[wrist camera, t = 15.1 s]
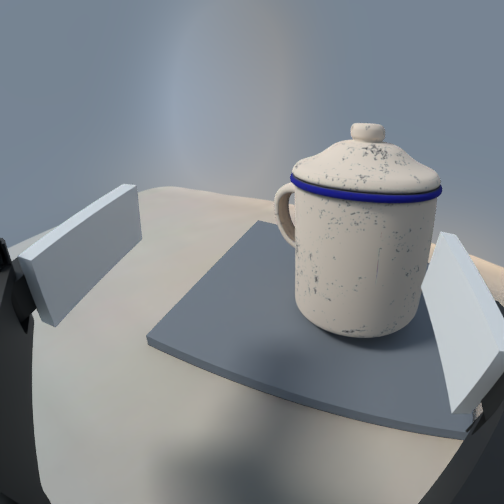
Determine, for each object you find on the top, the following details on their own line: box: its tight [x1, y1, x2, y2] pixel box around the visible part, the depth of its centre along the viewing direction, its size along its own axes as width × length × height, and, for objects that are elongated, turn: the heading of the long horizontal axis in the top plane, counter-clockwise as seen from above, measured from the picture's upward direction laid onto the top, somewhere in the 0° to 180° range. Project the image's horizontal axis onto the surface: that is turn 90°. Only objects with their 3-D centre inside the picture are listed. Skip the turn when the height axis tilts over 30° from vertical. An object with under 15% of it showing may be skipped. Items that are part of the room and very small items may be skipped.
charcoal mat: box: [146, 220, 473, 440], centre depth 23 cm, size 20×18×1 cm
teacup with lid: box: [274, 123, 442, 338], centre depth 20 cm, size 12×9×12 cm
